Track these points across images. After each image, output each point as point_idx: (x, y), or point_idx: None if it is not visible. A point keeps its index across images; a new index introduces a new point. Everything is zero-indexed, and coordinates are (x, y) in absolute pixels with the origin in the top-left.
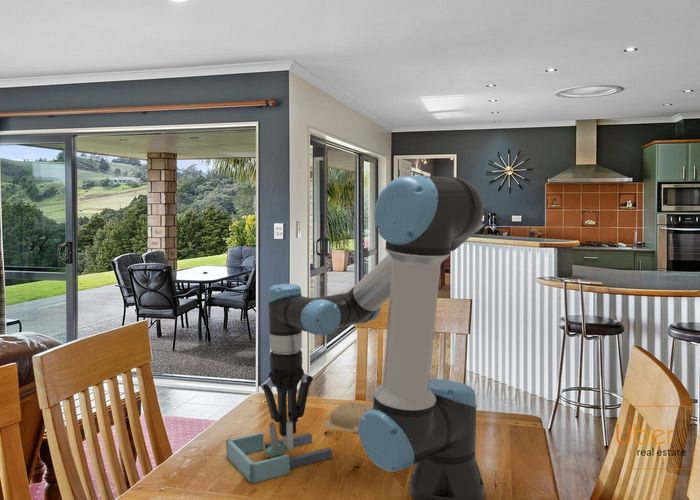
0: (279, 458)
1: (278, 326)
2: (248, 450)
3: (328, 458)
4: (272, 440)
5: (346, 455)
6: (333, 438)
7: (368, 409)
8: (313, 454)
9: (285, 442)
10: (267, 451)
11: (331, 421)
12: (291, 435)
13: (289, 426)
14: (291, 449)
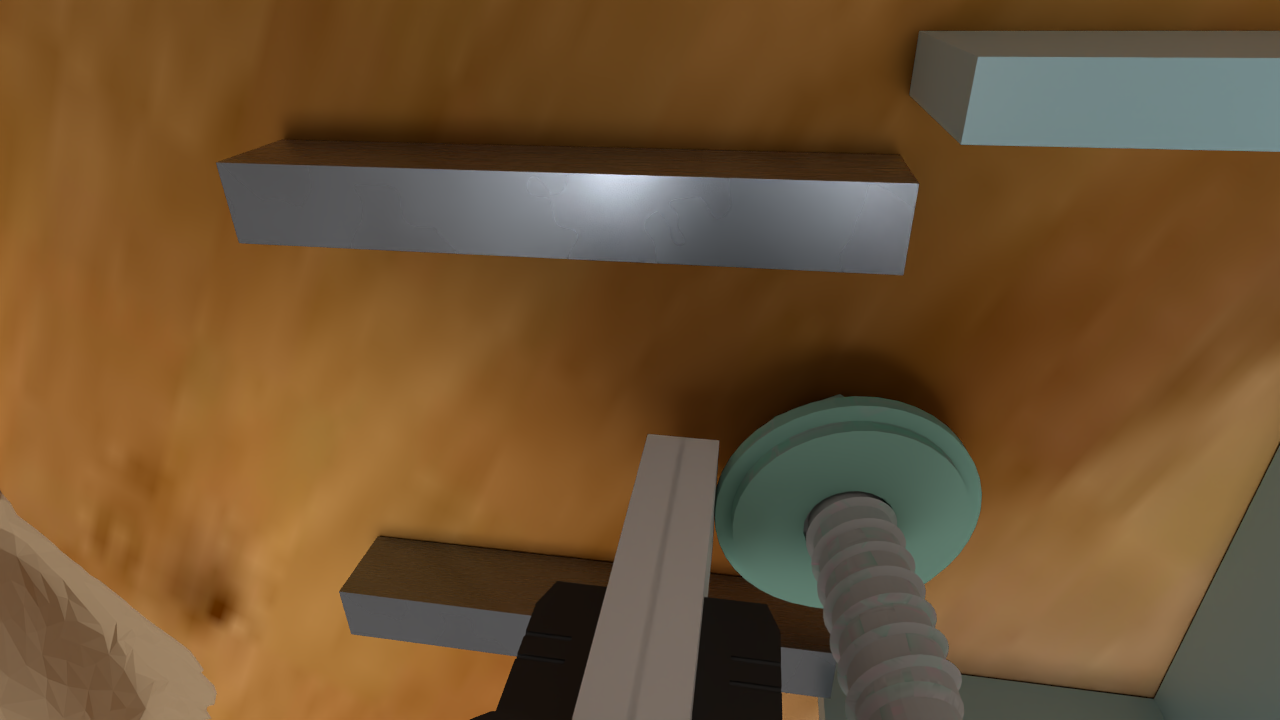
0: (1200, 59)
1: None
2: (983, 699)
3: (326, 141)
4: (929, 608)
5: (120, 107)
6: (179, 497)
7: None
8: (481, 172)
9: (711, 542)
10: (959, 529)
11: (128, 702)
12: (638, 559)
13: (645, 694)
14: (669, 437)
